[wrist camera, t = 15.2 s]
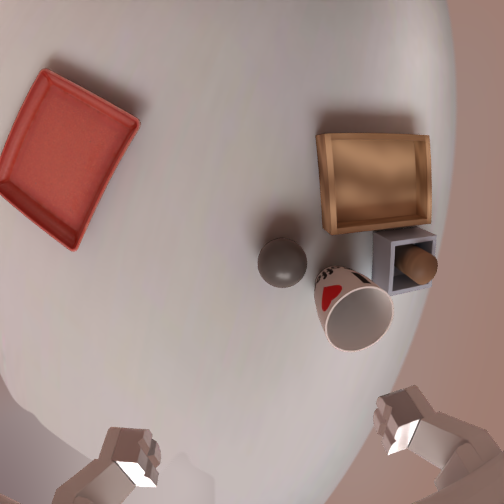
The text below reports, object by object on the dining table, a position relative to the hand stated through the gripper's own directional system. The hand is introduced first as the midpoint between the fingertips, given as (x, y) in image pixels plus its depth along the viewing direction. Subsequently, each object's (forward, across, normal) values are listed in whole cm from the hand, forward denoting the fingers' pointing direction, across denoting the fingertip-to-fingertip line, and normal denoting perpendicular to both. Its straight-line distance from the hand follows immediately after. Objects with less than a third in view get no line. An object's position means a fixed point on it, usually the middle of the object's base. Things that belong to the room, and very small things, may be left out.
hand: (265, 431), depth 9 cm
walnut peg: (+28, -22, +6) cm, 36 cm away
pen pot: (+28, -21, +6) cm, 36 cm away
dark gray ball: (+28, -4, +4) cm, 29 cm away
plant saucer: (+29, +21, -13) cm, 38 cm away
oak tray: (+28, -18, -4) cm, 34 cm away
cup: (+29, -11, +9) cm, 32 cm away
